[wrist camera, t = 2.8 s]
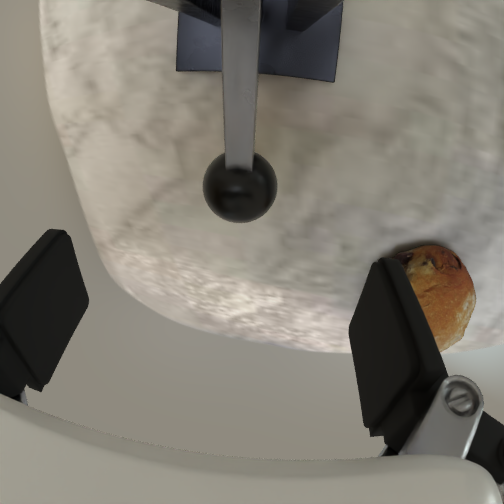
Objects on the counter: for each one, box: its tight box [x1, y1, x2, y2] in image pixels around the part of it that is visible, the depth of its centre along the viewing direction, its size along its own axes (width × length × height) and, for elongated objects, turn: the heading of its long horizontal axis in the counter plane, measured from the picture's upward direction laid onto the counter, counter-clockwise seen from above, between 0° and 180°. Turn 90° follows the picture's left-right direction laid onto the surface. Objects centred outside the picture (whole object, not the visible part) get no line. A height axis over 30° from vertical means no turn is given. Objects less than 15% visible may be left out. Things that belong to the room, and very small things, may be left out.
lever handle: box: [203, 0, 277, 223], centre depth 10 cm, size 14×3×3 cm, turn 175°
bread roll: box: [391, 245, 476, 352], centre depth 24 cm, size 10×10×8 cm
